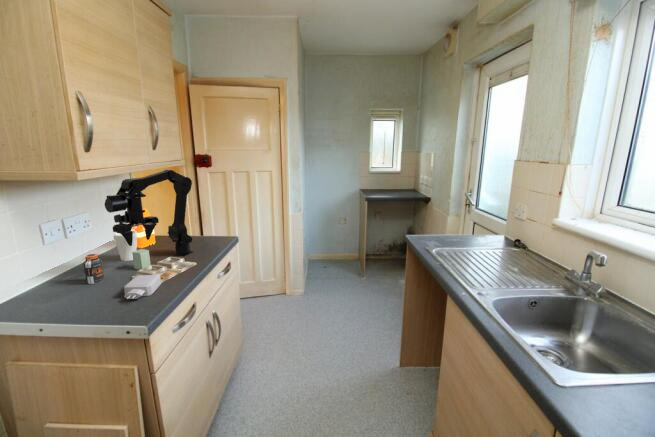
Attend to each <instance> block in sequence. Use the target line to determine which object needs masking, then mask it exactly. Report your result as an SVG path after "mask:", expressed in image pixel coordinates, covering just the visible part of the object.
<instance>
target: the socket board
mask: <svg viewBox="0 0 655 437" xmlns="http://www.w3.org/2000/svg"><path fill="white" fill-rule="evenodd" d="M196 265H197V262H193V261H185V258H184V257H176V256H169V257H166V258H164V259H162V260H159V261H157V262H156V264H151V265H150V266H148V267H146V268H143V269H141V270H136V274H134V275H132V276H131V279H133V278H135V277H136V276H138V275H159V276H160V279H161V284H162V283H164V282H166V281H168V280H169V279H172V278H173V277H175V276H178V275H179V274H181V273H182V272H185V271H187V270H189V269H191V268H193V267H194V266H196Z"/></svg>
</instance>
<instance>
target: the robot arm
mask: <svg viewBox="0 0 655 437" xmlns="http://www.w3.org/2000/svg"><path fill="white" fill-rule="evenodd" d="M164 181H168V182H170V183H171V184H173V190H174V192H175V205H174V217H173V223H172V224H171V225H168V227H167V228H168V231H167V235H168V237H169V239H171V241H172V242H173V243H174V244H175V248H174V249H175V253H173V255H175V256H181V257H182V256H183V257H184V256H187V255H189V254H191V253H193V250H191V247H190V243H192V242H193V237H192V236H190V235H189V234H188V228H187V226H186V223H185V221H186V211H187V202H188V200H187V199H188V194H189V193H190V191H191V190H192V186H193V180H192V178H190V177H188V176H184V175H183V174H180V173H177V172H176V171H175V170H172V169H164V170H162V171H160V172H155V173H153V174H149V175H145V176H143V177H133V178H126V179H123V180H122V181H121V184H120V187H119V189H118V190H117V192H116V194H115V195H106V196H105V197H106V199H105V201H104V208H105V210H106V211H107V212H108V213H116V212H121V211H124V214H123V215H121V214H114V215H113V220H114V223H116V224H114V225H113V226H112V232H113V233H120V234H121V235H122V236H123V237H124V238H125V240H126V241H127V243H128V245H129V246H132V239H133V231H131V229H132V227H136V226H139V225H143V227H144V228H145V234H146V239H147V240H149V239H150V237H151V234H152V232H153V230H154V231H155V227H156V226H157V225H158V224H159V220H160V219H159V218H158V216H152V215H150V216H147V217H144V216H143V213H144V212H145V210H143V209H144V208H143V202H142V198H145V197H147V195H146V194H144V193H143V192H142V191H144V190H146V189H147V188H148V187H149V186H152V185H155V184H159V183H161V182H164ZM134 224H135V225H134Z"/></svg>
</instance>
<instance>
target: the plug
mask: <svg viewBox="0 0 655 437" xmlns="http://www.w3.org/2000/svg"><path fill="white" fill-rule="evenodd" d="M132 254H133V260H132V261H133V267H134V270H137V271H139V270H141V269H143V268H146V267H148V266H150V265H152V264H151V258H150V256H151V255H150V250H149V249H145V248H138V249H137V251H134V252H132Z"/></svg>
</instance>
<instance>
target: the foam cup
mask: <svg viewBox="0 0 655 437" xmlns="http://www.w3.org/2000/svg"><path fill="white" fill-rule="evenodd" d="M131 231H132V230H131ZM112 235H113V240H114V241H115V245H116V248H117V251H118V254H119V258H120V260H121V261H122V262H127V261H133V254H132V252H134V251H137V250H138V249H137V248H138V247H137V231H133V239H132V246H129V245H128V243H127V241H126V240H125V238H124V237H123V236H122V235H121V234H120V233H117V232H113V234H112Z"/></svg>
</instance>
